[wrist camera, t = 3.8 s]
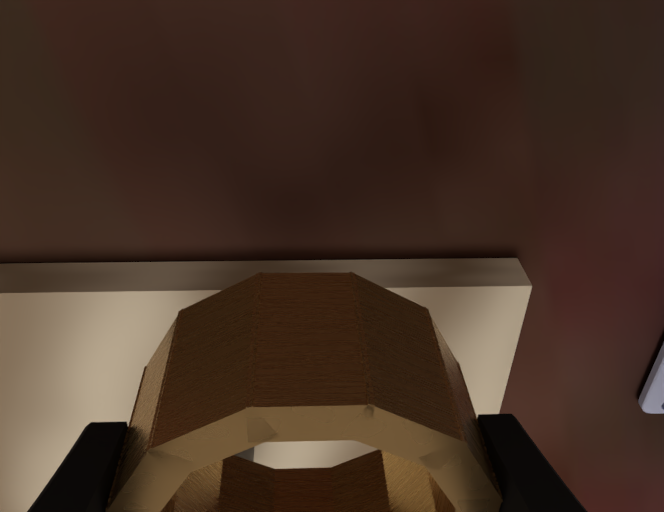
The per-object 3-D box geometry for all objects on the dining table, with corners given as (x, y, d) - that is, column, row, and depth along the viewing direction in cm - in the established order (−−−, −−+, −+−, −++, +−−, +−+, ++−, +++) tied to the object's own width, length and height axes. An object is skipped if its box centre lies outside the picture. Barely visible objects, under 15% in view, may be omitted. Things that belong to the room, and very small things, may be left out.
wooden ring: (479, 270, 11) (535, 400, 8) (434, 484, 14) (464, 622, 12) (125, 272, 10) (74, 408, 8) (167, 491, 14) (140, 636, 11)
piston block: (517, 257, 20) (592, 397, 15) (456, 513, 28) (492, 660, 23) (-128, 264, 19) (-278, 419, 14) (-1, 530, 27) (-67, 689, 22)
